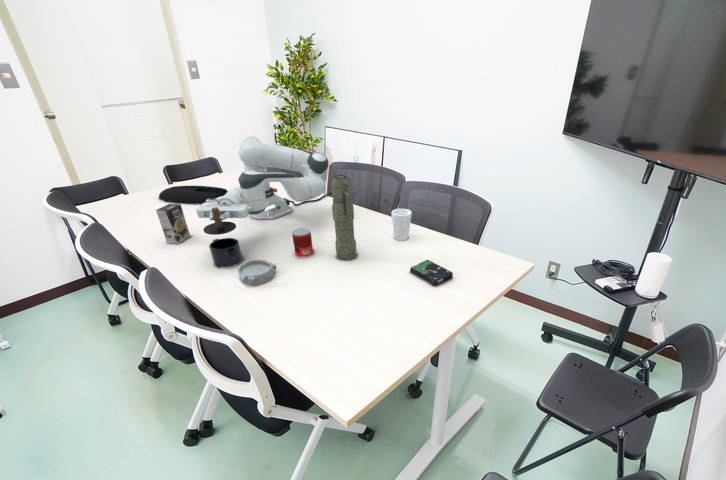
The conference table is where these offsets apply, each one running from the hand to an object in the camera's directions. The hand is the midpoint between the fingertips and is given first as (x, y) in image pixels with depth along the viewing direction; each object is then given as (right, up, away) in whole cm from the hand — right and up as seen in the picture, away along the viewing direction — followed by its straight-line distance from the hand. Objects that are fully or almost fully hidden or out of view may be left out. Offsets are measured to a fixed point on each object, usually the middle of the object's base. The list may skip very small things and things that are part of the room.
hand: (216, 218), depth 156 cm
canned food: (+31, -12, +19) cm, 38 cm away
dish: (+16, -24, +1) cm, 29 cm away
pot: (0, -16, +12) cm, 20 cm away
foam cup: (+74, -2, +34) cm, 81 cm away
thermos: (+50, -13, +17) cm, 54 cm away
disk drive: (+86, -23, +4) cm, 89 cm away
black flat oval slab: (-52, +30, +80) cm, 100 cm away
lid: (0, -3, +3) cm, 5 cm away
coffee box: (-32, -4, +30) cm, 44 cm away
